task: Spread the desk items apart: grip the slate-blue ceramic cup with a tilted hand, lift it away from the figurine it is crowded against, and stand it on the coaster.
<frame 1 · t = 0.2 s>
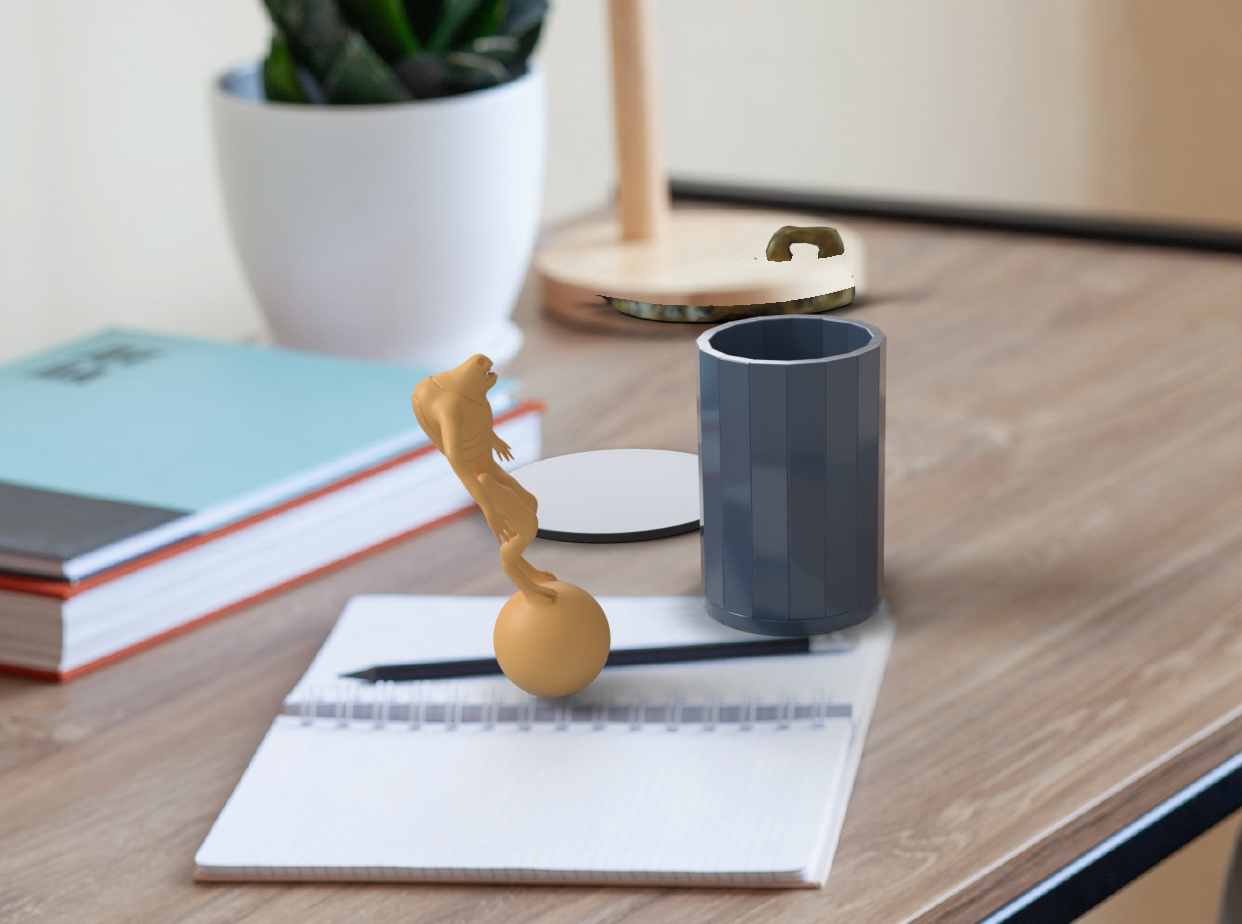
cup: (792, 601, 78), on the table
seal: (722, 306, 119), on the table
figurine: (525, 699, 72), on the table
coaster: (616, 497, 90), on the table
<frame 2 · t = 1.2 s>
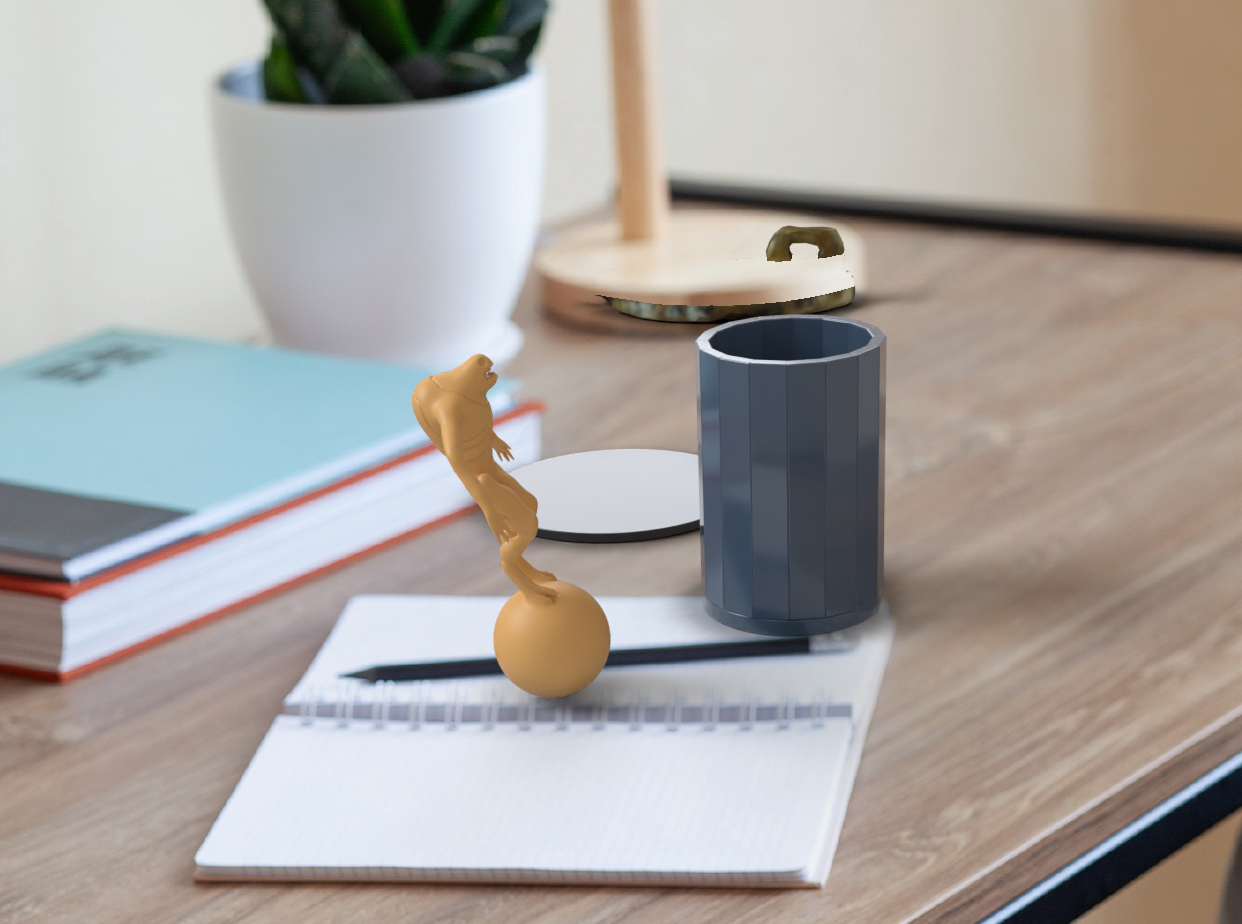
nothing on the table moved.
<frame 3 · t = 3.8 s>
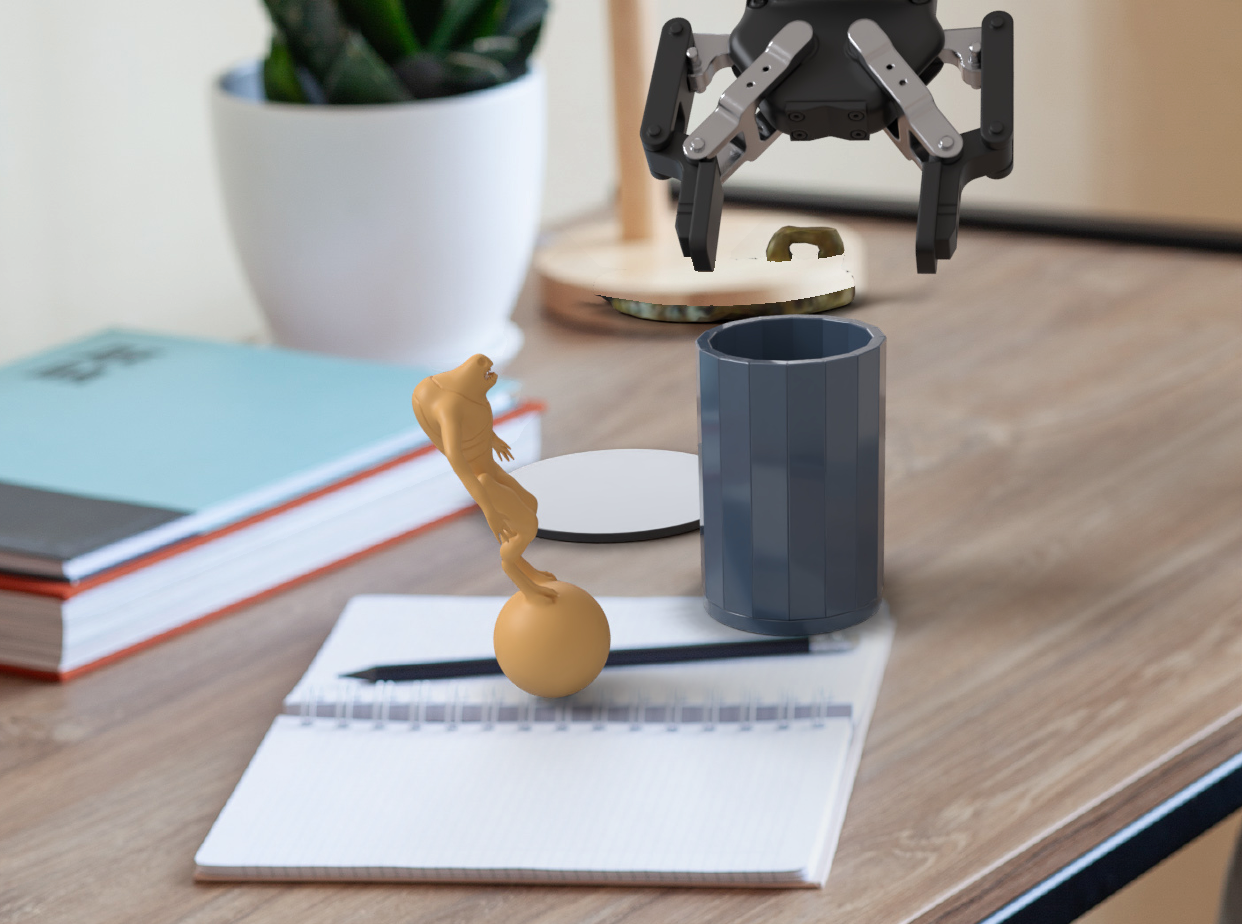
hand: (812, 262, 79), 11 cm above the table, tool tilted 45°, fingers open, 8 cm apart
nothing on the table moved.
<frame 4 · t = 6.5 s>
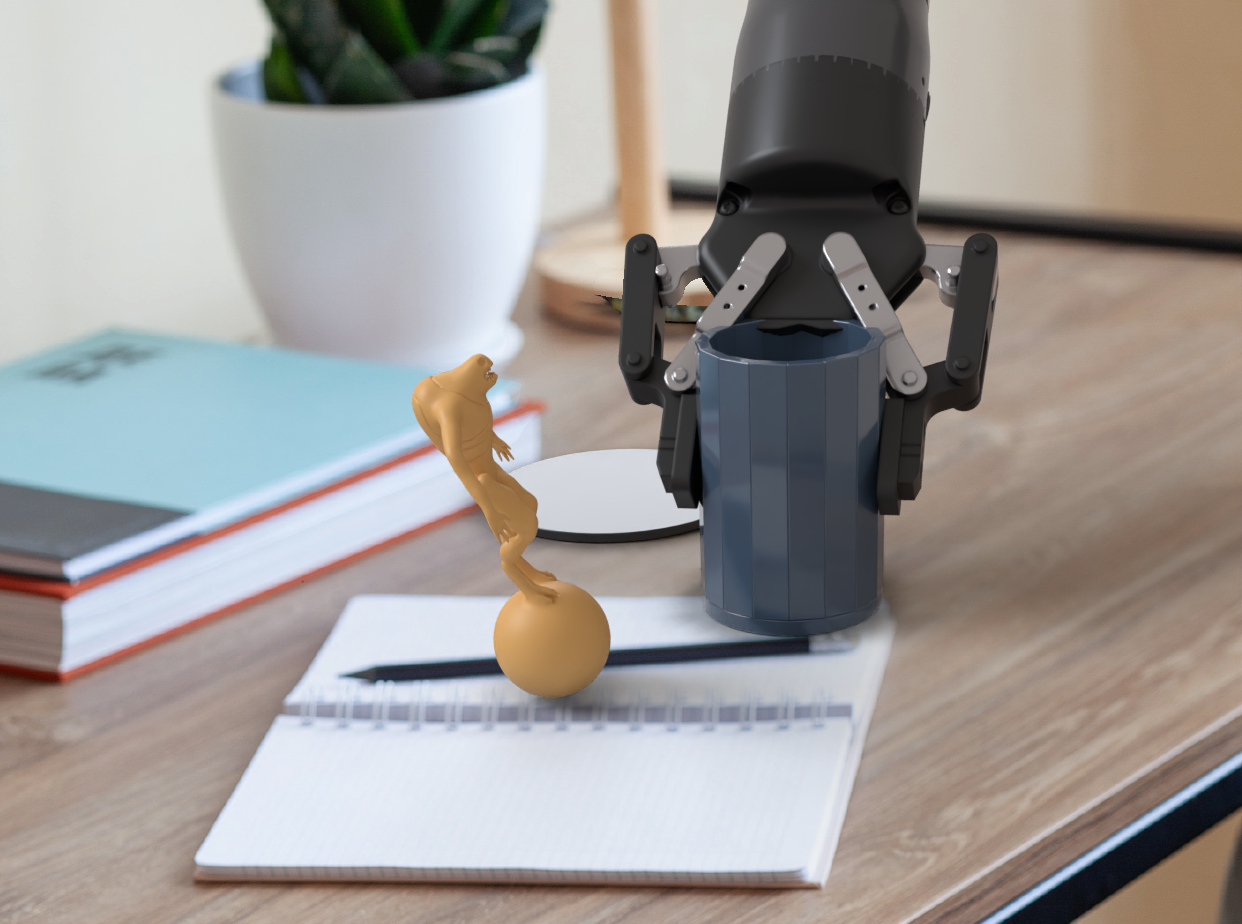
hand: (785, 502, 75), 4 cm above the table, tool tilted 45°, fingers closed on cup, 6 cm apart
cup: (791, 601, 78), on the table, touching gripper
everything else where it was.
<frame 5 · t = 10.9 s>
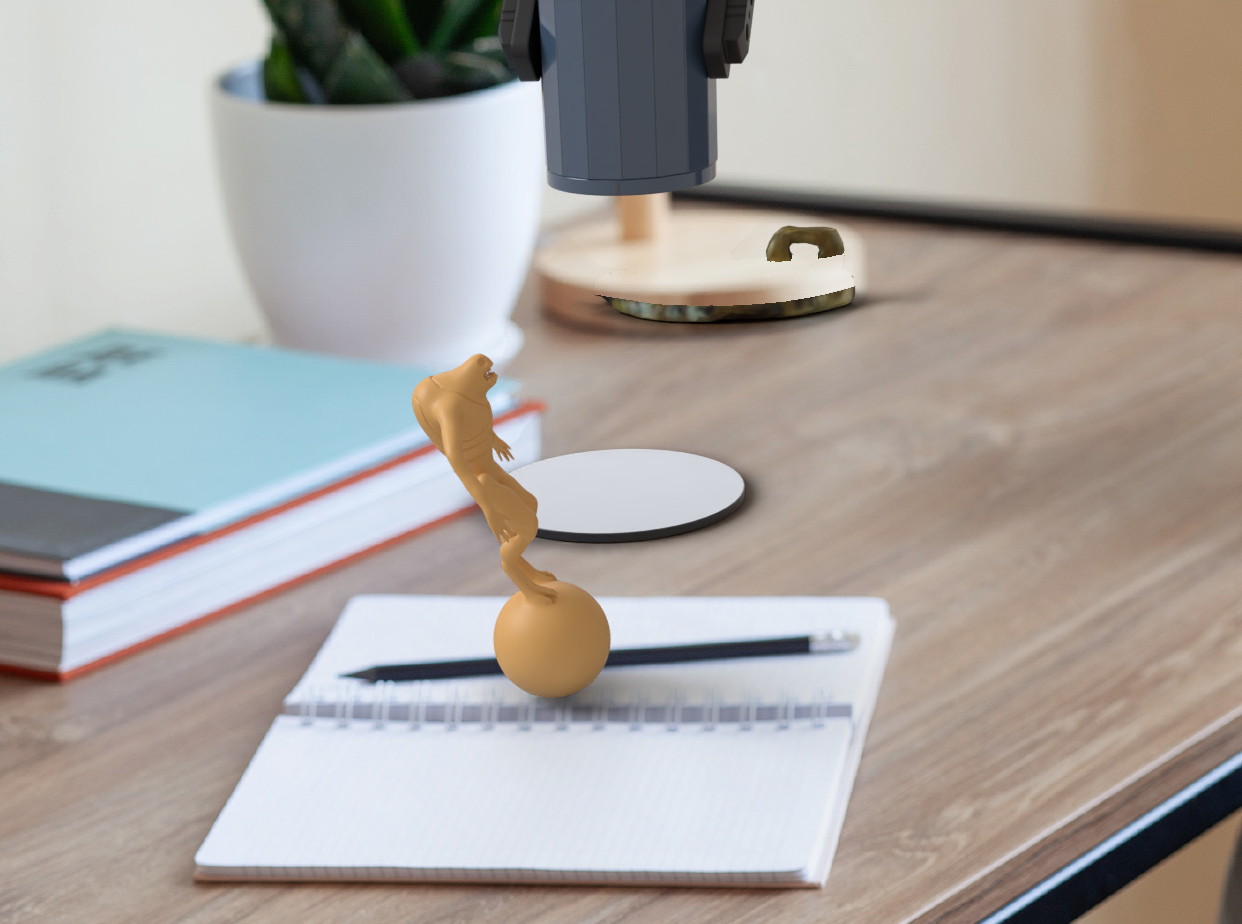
hand: (619, 66, 78), 18 cm above the table, tool tilted 45°, fingers closed on cup, 6 cm apart
cup: (631, 178, 81), point 14 cm above the table, touching gripper
everything else where it was.
when the fingers open (5 cm above the table, at t = 15.5 s): cup stays where it is, resting on coaster.
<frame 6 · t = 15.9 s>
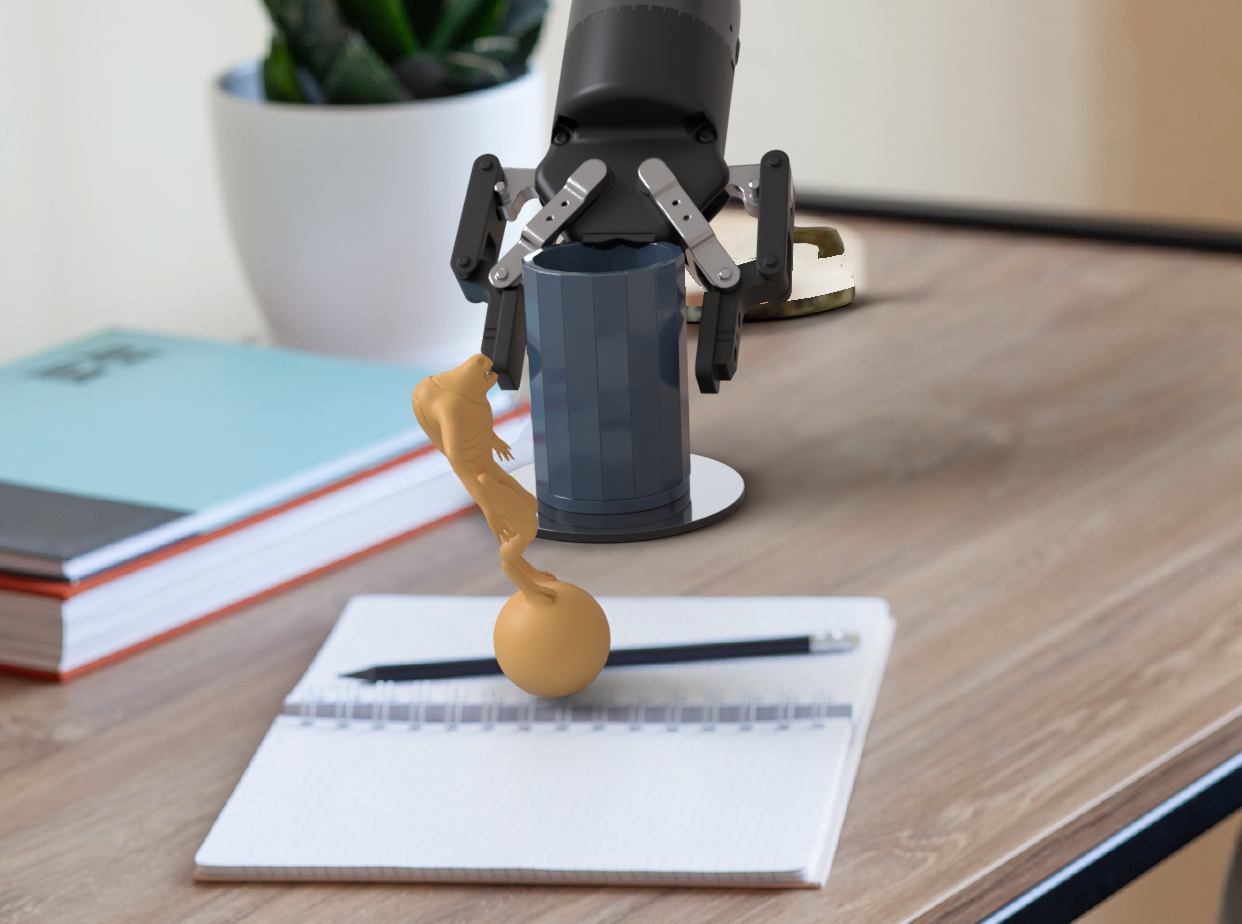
hand: (604, 383, 86), 5 cm above the table, tool tilted 45°, fingers open, 8 cm apart
cup: (612, 488, 89), resting on coaster
everything else where it was.
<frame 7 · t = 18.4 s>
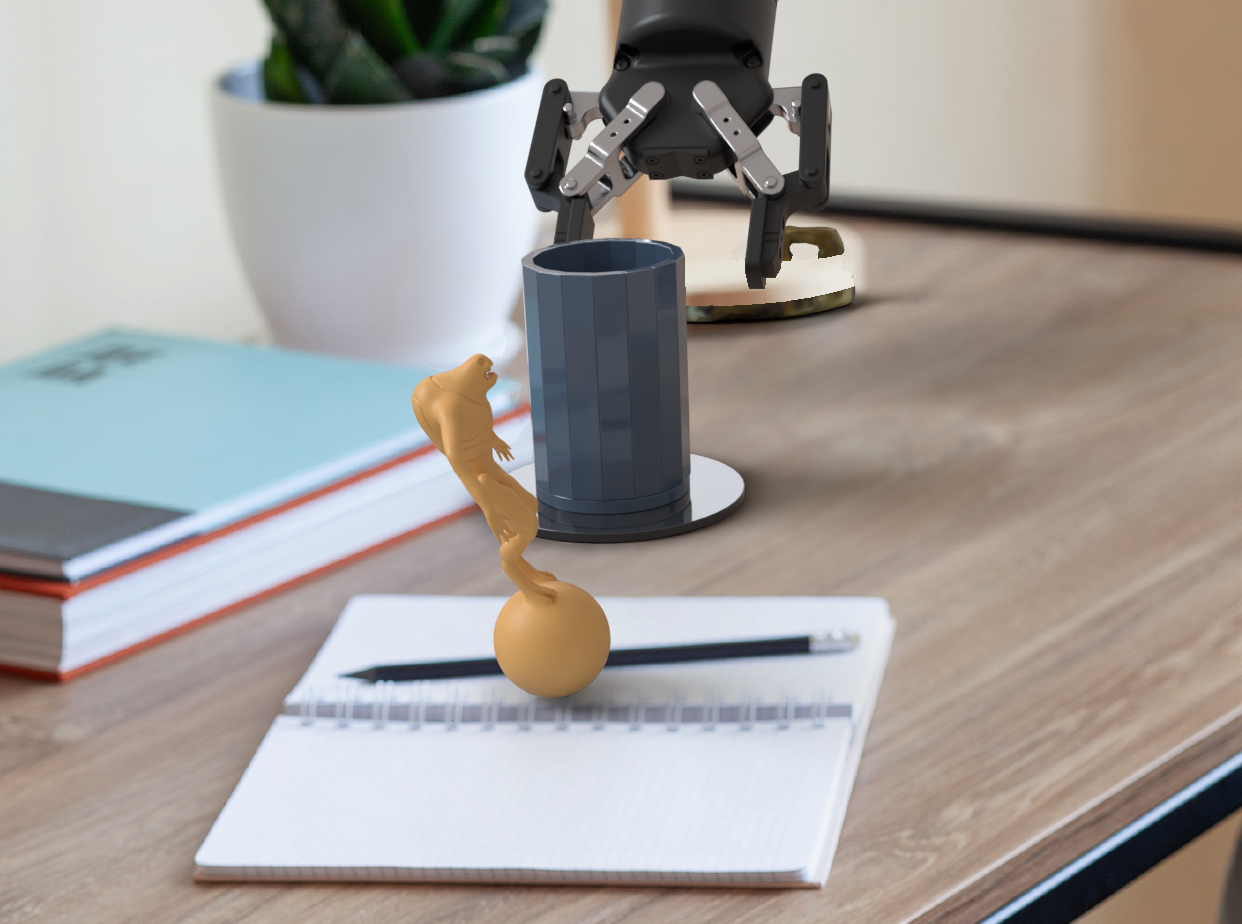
hand: (663, 280, 97), 7 cm above the table, tool tilted 45°, fingers open, 8 cm apart
nothing on the table moved.
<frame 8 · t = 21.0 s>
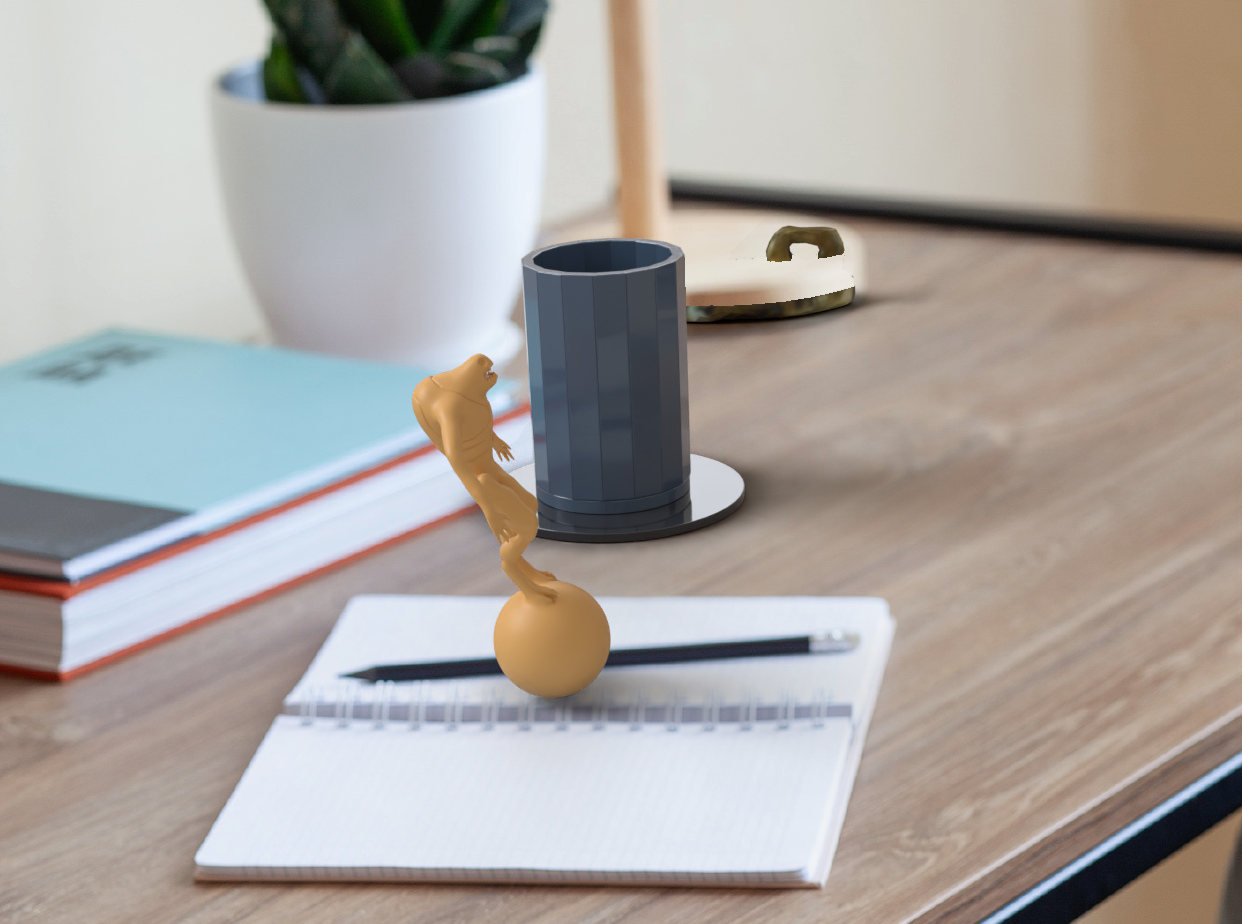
nothing on the table moved.
at the end: cup 0.1 cm off-centre on the coaster, point 0.4 cm above the coaster's base; cup tilted 0°; figurine moved 0.2 cm from its start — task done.
